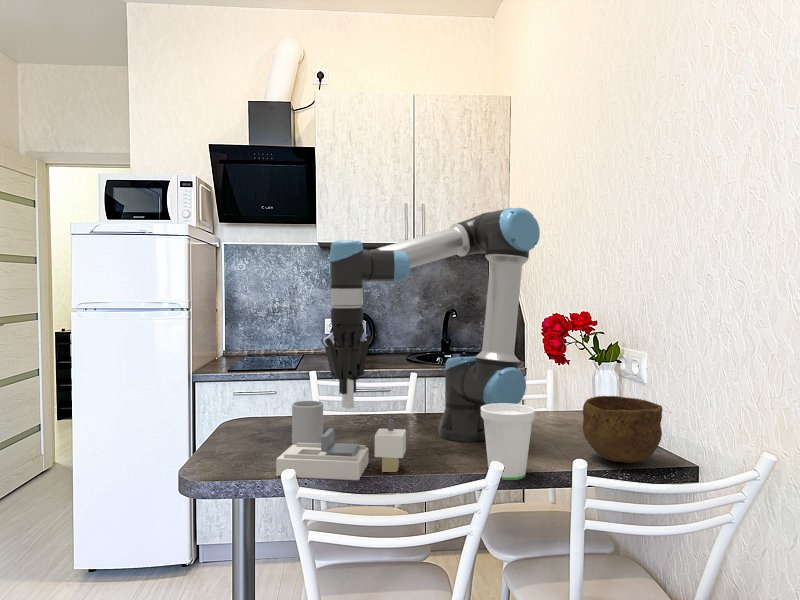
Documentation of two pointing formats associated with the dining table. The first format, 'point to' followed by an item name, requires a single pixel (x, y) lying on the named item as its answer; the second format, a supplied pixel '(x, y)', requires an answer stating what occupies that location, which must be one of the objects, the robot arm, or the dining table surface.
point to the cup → (508, 436)
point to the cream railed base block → (322, 462)
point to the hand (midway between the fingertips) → (347, 407)
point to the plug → (390, 446)
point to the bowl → (622, 427)
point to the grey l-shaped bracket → (336, 446)
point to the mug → (307, 422)
